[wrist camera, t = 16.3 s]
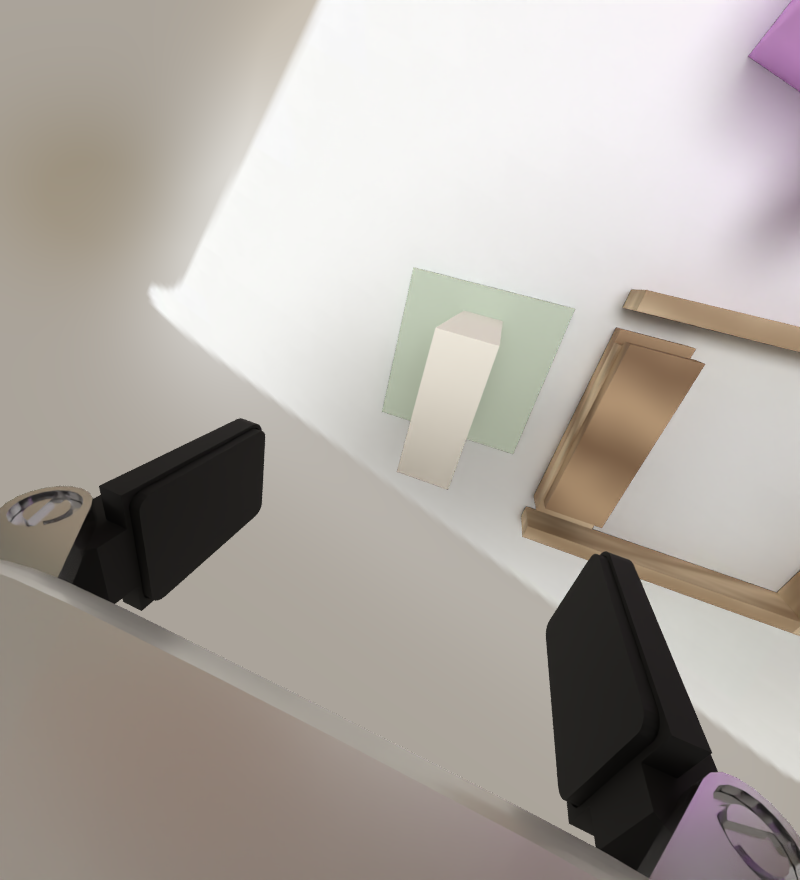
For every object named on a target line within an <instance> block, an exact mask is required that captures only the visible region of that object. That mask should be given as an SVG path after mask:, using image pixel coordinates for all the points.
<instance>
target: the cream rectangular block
mask: <svg viewBox="0 0 800 880" xmlns="http://www.w3.org/2000/svg"><path fill="white" fill-rule="evenodd" d="M502 323H503V321H501V320H497V319H493V318H490V317H486V316H482V315H479V314H475V313H472V312H468V311H462V312H461V313H459V314H457V315H456V316H454V317H452V318H451V319H449V320H447V321H446V322H444V323H442V324H441V325H439V326H437V327H436V328H435V331H434V335H433V339H432V343H431V346H430V350H429V354H428V357H427V361H426V365H425V369H424V372H423V376H422V380H421V384H420V387H419V391H418V395H417V398H416V402H415V406H414V410H413V413H412V417H411V421H410V425H409V428H408V432H407V436H406V439H405V443H404V447H403V451H402V454H401V458H400V462H399V466H398V469H397V472H399V473H402V474H405V475H407V476H410V477H413V478H416V479H419V480H422V481H424V482H427V483H430V484H433V485H436V486H438V487H441V488H444V489H447V490H448V489H449V486H450V483H451V481H452V478H453V475H454V472H455V469H456V467H457V464H458V461H459V458H460V455H461V453H462V450H463V447H464V444H465V441H466V439H467V436H468V433H469V430H470V427H471V425H472V422H473V419H474V416H475V413H476V411H477V408H478V405H479V402H480V400H481V397H482V394H483V391H484V388H485V386H486V383H487V380H488V377H489V374H490V372H491V369H492V366H493V363H494V360H495V358H496V355H497V352H498V349H499V346H500V339H501V331H502Z"/></svg>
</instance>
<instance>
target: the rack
mask: <svg viewBox="0 0 800 880" xmlns="http://www.w3.org/2000/svg"><path fill="white" fill-rule="evenodd" d="M623 308H625V309H629V310H633V311H637V312H641V313H645V314H649V315H653V316H657V317H661V318H665V319H669V320H673V321H677V322H681V323H685V324H689V325H693V326H697V327H701V328H705V329H709V330H713V331H717V332H721V333H725V334H729V335H733V336H737V337H741V338H745V339H749V340H753V341H757V342H761V343H765V344H769V345H773V346H777V347H781V348H785V349H789V350H793V351H797V352H800V327H797V326H793V325H789V324H785V323H781V322H777V321H773V320H768V319H764V318H760V317H756V316H752V315H748V314H744V313H739V312H735V311H731V310H727V309H723V308H719V307H715V306H710V305H706V304H702V303H698V302H694V301H690V300H686V299H681V298H677V297H673V296H669V295H665V294H661V293H657V292H653V291H648V290H632V289H631V291H630V293H629V296H628V298H627V300H626V302H625V304H624V306H623ZM521 522H522V537H525V538H528V539H530V540H533V541H536V542H539V543H541V544H544V545H547V546H550V547H553V548H555V549H558V550H561V551H564V552H567V553H569V554H572V555H575V556H578V557H581V558H583V559H586V560H589V559H590V557H591V556H592V555H593V554H598V555H600V554H601V553H602V552H604V551H607V552H610V553H612V554H615V555H618V556H621V557H623V558H626V559H629V560H631V561H632V563H633V564H634V566H635V569H636V571H637V574H638V576H639V578H640V579H642V580H645V581H648V582H650V583H653V584H656V585H659V586H662V587H664V588H667V589H670V590H673V591H676V592H678V593H681V594H684V595H687V596H690V597H692V598H695V599H698V600H701V601H703V602H706V603H709V604H712V605H715V606H717V607H720V608H723V609H726V610H729V611H731V612H734V613H737V614H740V615H743V616H745V617H748V618H751V619H754V620H757V621H759V622H762V623H765V624H768V625H771V626H773V627H776V628H779V629H782V630H784V631H787V632H790V633H793V634H796V635H798V636H800V571H799V572H798V573H797V574H796V575H795V576H794V577H793V578H792V579H791V580H790V581H789V582H788V583H786V584H785V585H784V586H783V587H782V588H781V589H780V590H779V591H778V592H777V593H776V592H773V591H770V590H767V589H765V588H762V587H759V586H756V585H753V584H750V583H747V582H744V581H741V580H738V579H736V578H733V577H730V576H727V575H724V574H721V573H718V572H715V571H712V570H709V569H707V568H704V567H701V566H698V565H695V564H692V563H689V562H686V561H683V560H680V559H677V558H675V557H672V556H669V555H666V554H663V553H660V552H657V551H654V550H651V549H648V548H646V547H643V546H640V545H637V544H634V543H631V542H628V541H625V540H622V539H619V538H617V537H614V536H611V535H608V534H605V533H602V532H599V531H596V530H593V529H590V528H587V527H584V526H581V525H578V524H575V523H573V522H570V521H567V520H564V519H561V518H558V517H555V516H552V515H549V514H546V513H544V512H541V511H538V510H535V509H532V508H530V507H527V506H526V508H525V510H524V512H523V514H522V516H521Z"/></svg>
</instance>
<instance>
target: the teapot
mask: <svg viewBox="0 0 800 880" xmlns="http://www.w3.org/2000/svg"><path fill="white" fill-rule="evenodd" d="M748 57H750V58H751V59H753V60H754V61H756V62H757V63H758V64H760V65H761V66H763V67H764V68H766V69H767V70H769V71H770V72H772V73H773V74H774V75H776V76H777V77H779V78H780V79H782V80H783V81H785V82H786V83H788V84H789V85H790V86H792V87H793V88H795V89H796V90H798V91H799V92H800V0H792V1H791V2H790V3H789V4H788V6H787V7H786V8H785V10H784V11H783V12H782V13H781V15H780V16H779V17H778V19H777V20H776V21H775V22H774V24H773V25H772V26H771V28H770V29H769V30H768V31H767V33H766V34H765V35H764V37H763V38H762V39H761V40H760V42H759V43H758V44H757V46H756V47H755V48H754V49H753V51H752V52H751V53H750V55H749V56H748Z"/></svg>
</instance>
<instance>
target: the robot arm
mask: <svg viewBox="0 0 800 880" xmlns="http://www.w3.org/2000/svg"><path fill="white" fill-rule="evenodd" d="M264 449H265V434H264V432H263V431H262V430H261V427H260V425H258V424H255V423H253V422H250V421H247V420H244V419H241V418H240V419H237V420H235V421H233V422H230V423H228V424H226V425H224V426H222V427H220V428H218V429H216V430H214V431H212V432H210V433H208V434H206V435H203V436H201V437H199V438H197V439H195V440H193V441H191V442H189V443H187V444H185V445H183V446H181V447H179V448H177V449H175V450H173V451H171V452H169V453H166V454H164V455H162V456H160V457H158V458H156V459H154V460H152V461H150V462H148V463H146V464H143V465H142V466H139V467H137V468H135V469H133V470H131V471H129V472H127V473H125V474H123V475H121V476H119V477H117V478H115V479H113V480H110V481H108V482H106V483H104V484H102V485H100V486H99V488H100V493H101V495H100V496H98V497H96V498H94V499H93V498H92V496H91V494H90V493H89V492H88V491H86V490H84V489H82V488H77V487H73V486H56V487H47V488H42V489H38V490H34V491H30V492H28V493H25V494H22V495H20V496H17V497H15V498H14V499H12V500H10V501H8V502H7V503H5V504H4V505H3V506H2V507H1V508H0V880H800V837H799V835H798V834H797V833H796V831H795V830H794V829H793V827H792V826H791V824H790V823H789V822H788V821H787V820H786V819H785V818H784V817H783V816H782V814H781V813H780V812H779V811H778V810H777V809H776V808H775V807H774V806H773V805H772V804H771V803H770V802H769V801H768V800H766V798H764V797H763V796H762V795H761V794H760V793H758V792H757V791H756V790H755V789H754V788H753V787H751V786H749V785H748V784H746V783H744V782H743V781H741V780H740V779H738V778H737V777H734V776H731V775H729V774H726V773H723V772H718V771H717V768H716V766H715V764H714V761H713V759H712V756H711V753H712V752H711V749H710V747H709V744H708V742H707V739H706V737H705V735H704V733H703V730H702V727H701V725H700V723H699V720H698V718H697V715H696V713H695V711H694V708H693V706H692V703H691V701H690V699H689V696H688V694H687V691H686V689H685V687H684V684H683V682H682V679H681V677H680V675H679V672H678V670H677V667H676V665H675V663H674V660H673V658H672V655H671V653H670V651H669V648H668V646H667V643H666V641H665V639H664V636H663V634H662V631H661V629H660V627H659V624H658V622H657V619H656V617H655V615H654V612H653V610H652V607H651V605H650V602H649V600H648V598H647V595H646V593H645V590H644V588H643V586H642V583H641V581H640V578H639V576H638V574H637V571H636V569H635V566H634V564H633V563H632V561H631V560H629V559H626V558H623V557H621V556H618V555H615V554H612V553H610V552H607V551H604V552H602V553H601V554H600V555H598V554H593V555H592V556H591V557H590V559H589V560H588V562H587V563H586V565H585V567H584V568H583V570H582V571H581V573H580V574H579V576H578V577H577V579H576V580H575V582H574V583H573V585H572V587H571V588H570V590H569V591H568V593H567V594H566V596H565V597H564V599H563V600H562V602H561V604H560V605H559V607H558V608H557V610H556V611H555V613H554V614H553V616H552V617H551V619H550V621H549V622H548V625H547V629H546V642H547V655H548V668H549V680H550V692H551V704H552V717H553V729H554V741H555V753H556V766H557V777H558V788H559V793H560V796H561V797H562V799H563V800H565V801H567V808H568V818H569V824H571V825H573V826H575V827H577V828H579V829H581V830H583V831H585V832H587V833H589V834H591V835H593V836H594V838H595V845H596V847H594V846H592V845H590V844H588V843H586V842H584V841H583V840H581V839H578V838H577V837H575V836H573V835H571V834H569V833H567V832H566V831H564V830H562V829H560V828H558V827H556V826H554V825H552V824H550V823H549V822H547V821H545V820H543V819H541V818H539V817H537V816H535V815H533V814H531V813H530V812H528V811H526V810H524V809H522V808H520V807H518V806H516V805H515V804H513V803H511V802H509V801H507V800H505V799H503V798H501V797H499V796H497V795H495V794H493V793H491V792H489V791H487V790H485V789H484V788H482V787H480V786H478V785H476V784H473V783H472V782H470V781H468V780H466V779H464V778H462V777H460V776H458V775H456V774H454V773H452V772H450V771H448V770H446V769H444V768H442V767H440V766H438V765H436V764H434V763H432V762H430V761H428V760H426V759H424V758H422V757H420V756H419V755H416V754H415V753H413V752H410V751H409V750H407V749H405V748H403V747H401V746H399V745H397V744H395V743H393V742H391V741H389V740H387V739H385V738H383V737H381V736H379V735H377V734H375V733H373V732H371V731H369V730H367V729H365V728H363V727H361V726H359V725H357V724H355V723H353V722H351V721H349V720H347V719H345V718H343V717H341V716H339V715H337V714H335V713H333V712H331V711H329V710H327V709H325V708H323V707H321V706H319V705H317V704H315V703H313V702H311V701H309V700H307V699H305V698H303V697H301V696H299V695H297V694H295V693H293V692H291V691H289V690H287V689H285V688H283V687H281V686H279V685H277V684H275V683H273V682H271V681H269V680H267V679H265V678H263V677H261V676H259V675H257V674H255V673H253V672H251V671H249V670H247V669H245V668H243V667H241V666H239V665H237V664H235V663H233V662H231V661H229V660H227V659H225V658H223V657H221V656H219V655H217V654H215V653H213V652H211V651H209V650H207V649H205V648H203V647H201V646H199V645H197V644H195V643H193V642H191V641H189V640H187V639H185V638H183V637H181V636H179V635H177V634H175V633H173V632H171V631H168V630H167V629H165V628H162V627H161V626H158V625H157V624H154V623H152V622H150V621H148V620H146V619H144V618H142V617H140V616H138V615H136V614H134V613H132V612H130V611H128V610H126V609H124V608H122V607H120V606H118V605H115V603H117V602H118V601H119V600H121V599H122V598H123V602H125V603H127V604H129V605H131V606H133V607H135V608H137V609H139V610H141V611H142V610H143V609H144V608H146V606H148V605H149V604H150V603H151V602H152V601H154V600H155V601H156V600H160V599H162V598H163V597H165V596H166V595H167V594H168V593H169V592H170V591H171V590H173V589H174V588H175V587H176V586H177V585H178V584H179V583H180V582H182V581H183V580H184V579H185V578H186V577H187V576H188V575H189V574H191V573H192V572H193V571H194V570H195V569H196V568H197V567H198V566H200V565H201V564H202V563H203V562H204V561H205V560H206V559H207V558H208V557H210V556H211V555H212V554H213V553H214V552H215V551H216V550H218V549H219V548H220V547H221V546H222V545H223V544H224V543H226V542H227V541H228V540H229V539H230V538H231V537H232V536H233V535H234V534H235V533H237V532H238V531H239V530H240V529H241V528H242V527H243V526H245V525H246V524H247V523H248V522H249V521H250V520H251V519H253V518H254V517H255V516H256V515H257V514H258V512H259V510H260V508H261V505H262V489H263V470H264Z"/></svg>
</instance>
